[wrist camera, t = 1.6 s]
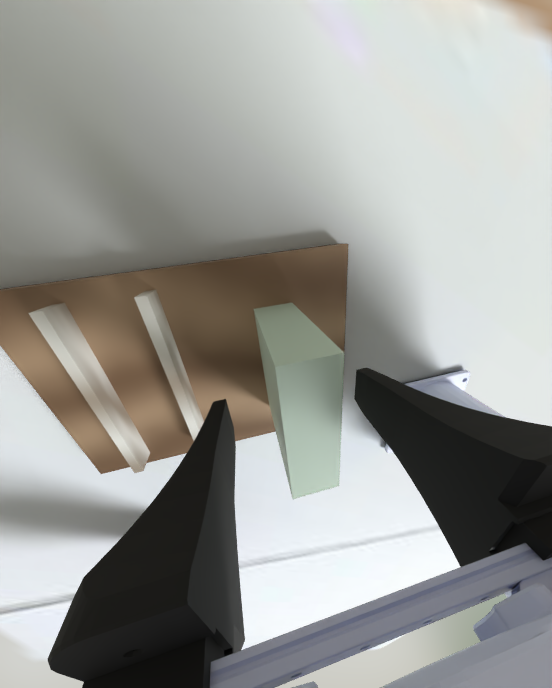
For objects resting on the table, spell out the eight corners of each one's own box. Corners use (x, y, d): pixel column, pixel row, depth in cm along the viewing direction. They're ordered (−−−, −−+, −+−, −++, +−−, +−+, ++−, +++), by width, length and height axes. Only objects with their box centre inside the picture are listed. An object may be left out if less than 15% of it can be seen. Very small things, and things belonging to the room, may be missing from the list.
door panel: (299, 398, 17) (339, 486, 11) (269, 405, 17) (292, 499, 11) (292, 302, 14) (344, 352, 8) (253, 308, 13) (275, 366, 7)
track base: (335, 406, 20) (350, 428, 18) (108, 459, 18) (90, 494, 15) (339, 243, 14) (362, 244, 12) (-14, 290, 11) (-78, 304, 9)
